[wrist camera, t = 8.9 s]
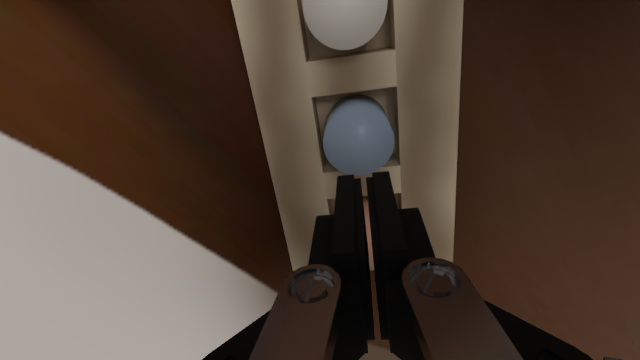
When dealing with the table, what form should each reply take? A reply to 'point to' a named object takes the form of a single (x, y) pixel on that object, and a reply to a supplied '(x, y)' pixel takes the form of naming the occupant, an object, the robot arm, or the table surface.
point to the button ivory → (344, 21)
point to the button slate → (358, 135)
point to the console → (347, 79)
